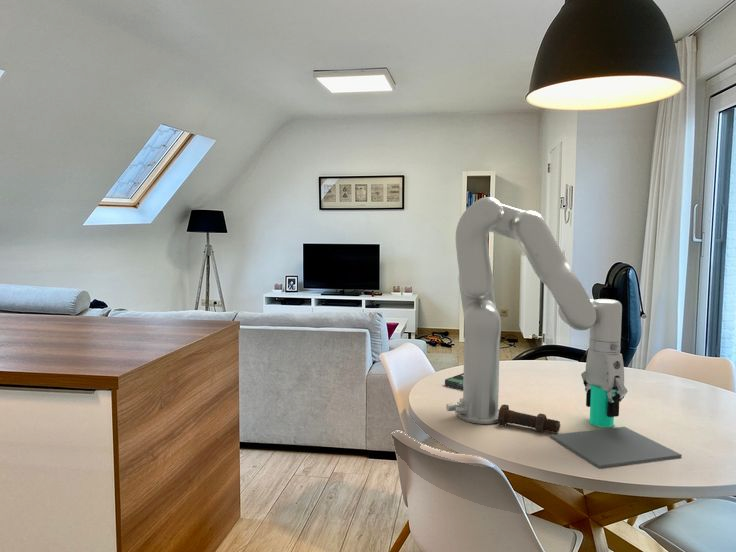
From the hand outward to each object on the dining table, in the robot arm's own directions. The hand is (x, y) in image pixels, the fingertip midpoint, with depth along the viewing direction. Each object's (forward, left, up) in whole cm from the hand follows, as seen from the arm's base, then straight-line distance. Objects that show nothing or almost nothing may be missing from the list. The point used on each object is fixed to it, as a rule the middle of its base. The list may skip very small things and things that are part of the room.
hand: (601, 410), depth 143 cm
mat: (-8, -14, -3) cm, 16 cm away
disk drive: (-18, +42, -4) cm, 46 cm away
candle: (0, 0, -4) cm, 4 cm away
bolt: (-21, +2, -4) cm, 21 cm away
